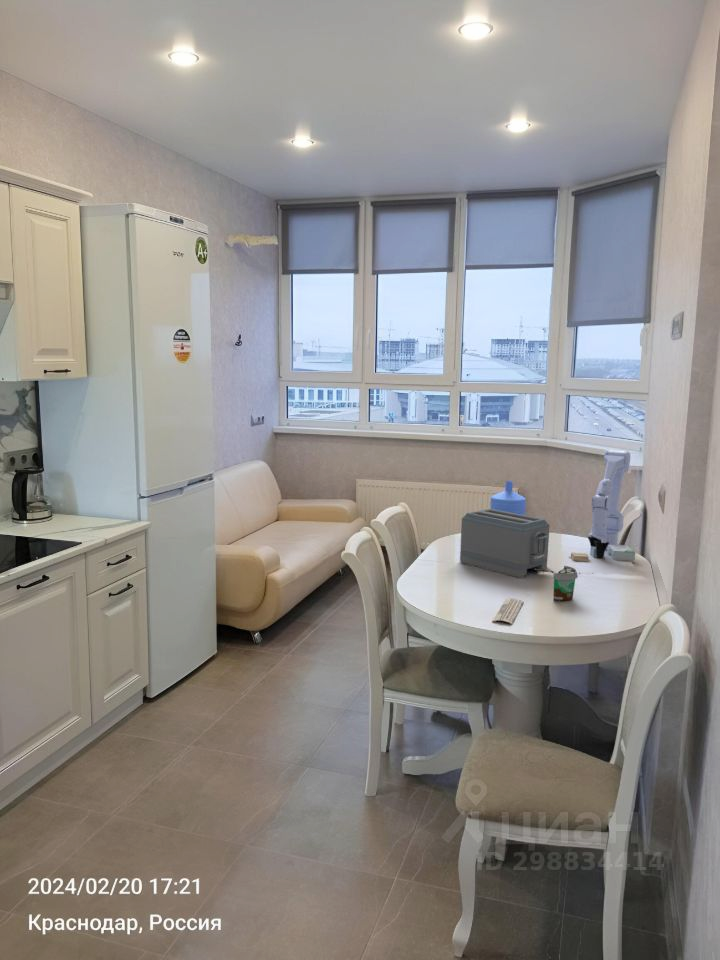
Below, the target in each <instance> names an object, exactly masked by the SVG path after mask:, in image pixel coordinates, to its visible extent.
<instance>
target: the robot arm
mask: <svg viewBox="0 0 720 960" xmlns="http://www.w3.org/2000/svg"><path fill="white" fill-rule="evenodd" d="M603 462H604V466H605V472H604V474H603V479H602V480H600V481H599V484H598V487H597V490H596V494H595V495H592V498H591V512H592V520H591V521H592V522H591V530H590V533H588V536H587V539H588V541H589V543H590V547H591V546H596V553H597V557H596V558H597V559H603V558H604V557H603V555H604V556H605V553H604V552H605V551H607V548H608V545H610V544H611V545H618V541H619V533H621V532H622V530H623V528H624V514H623V513H622V512H621V511H620V510H619V503H620V498H621V491H622V486H623V479H624V476H625V473H626V472H629V469H630V466H631V453H630V452H629V451H628V450H627V451H625V450H624V451H622V450H611V449H606V450H605V452H604V455H603Z"/></svg>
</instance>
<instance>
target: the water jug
mask: <svg viewBox="0 0 720 960" xmlns="http://www.w3.org/2000/svg"><path fill="white" fill-rule="evenodd" d="M513 483H514V482H513V481H509V480H508V481H505V486H504V487H505V489H504V490H503V491H501V492H499V493H496V494H493V495H491V497H490V502H489V505H490V508H489V509H493V510H499V511H504V512H509V513H514V514H520V515H525V516H526V509H527V500H526V499H527V498H525V496H522V495H521V494H518V493H517V492H515V491H514V490H513V487H514V485H513Z"/></svg>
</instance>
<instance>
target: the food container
mask: <svg viewBox="0 0 720 960" xmlns="http://www.w3.org/2000/svg"><path fill="white" fill-rule="evenodd" d="M576 579H578V572H577V569H576V568H574V567H571V566H567V565H563V569H561V570H559V571H558V572H554V573H553V598H552V599H553V602H557V603H559V602H561V603H563V602H564V603H565V602H571V601H573V598H574V589H575V585H576Z"/></svg>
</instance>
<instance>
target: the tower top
mask: <svg viewBox="0 0 720 960" xmlns="http://www.w3.org/2000/svg"><path fill="white" fill-rule="evenodd" d="M570 557H571V558H572V559H571V560H572V561H574V560H576V561H579V562H589V561H588V559H589V555H588V553H587V552H579V551H578V552H577V551H571V552H570ZM576 561H575V562H576Z"/></svg>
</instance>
